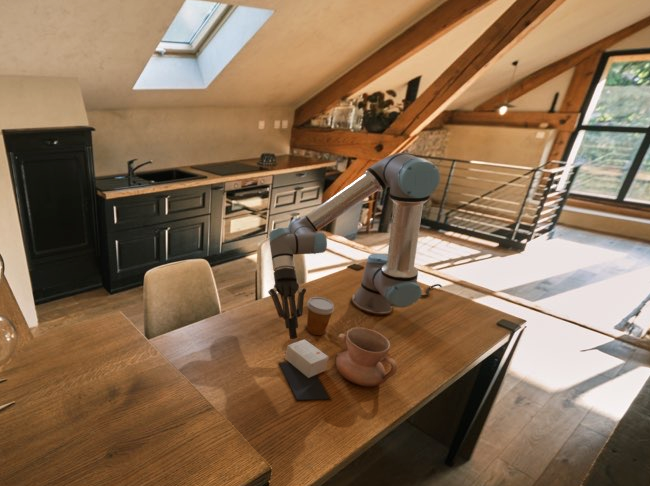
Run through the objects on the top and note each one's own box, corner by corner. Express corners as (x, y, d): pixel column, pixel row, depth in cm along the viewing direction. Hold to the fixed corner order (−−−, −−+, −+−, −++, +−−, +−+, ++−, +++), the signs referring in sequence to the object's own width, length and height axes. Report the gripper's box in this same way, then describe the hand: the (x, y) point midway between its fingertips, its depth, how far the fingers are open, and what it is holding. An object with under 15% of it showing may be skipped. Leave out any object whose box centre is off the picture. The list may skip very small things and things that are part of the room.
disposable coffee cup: (325, 324, 148) (331, 297, 143) (331, 339, 139) (338, 311, 134) (300, 322, 148) (305, 295, 144) (305, 336, 140) (310, 309, 135)
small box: (284, 358, 128) (307, 378, 119) (287, 344, 126) (311, 364, 117) (302, 352, 131) (326, 371, 123) (304, 338, 129) (329, 357, 121)
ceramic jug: (321, 369, 124) (330, 333, 118) (344, 352, 132) (353, 317, 127) (377, 404, 111) (389, 365, 105) (398, 382, 119) (411, 345, 114)
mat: (279, 363, 126) (279, 362, 126) (308, 362, 127) (308, 361, 127) (297, 400, 111) (297, 399, 111) (329, 399, 112) (330, 398, 112)
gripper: (298, 273, 139) (308, 339, 130) (263, 273, 138) (270, 340, 129) (306, 267, 132) (317, 336, 123) (269, 267, 131) (278, 337, 122)
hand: (293, 338), depth 126 cm, fingers closed
